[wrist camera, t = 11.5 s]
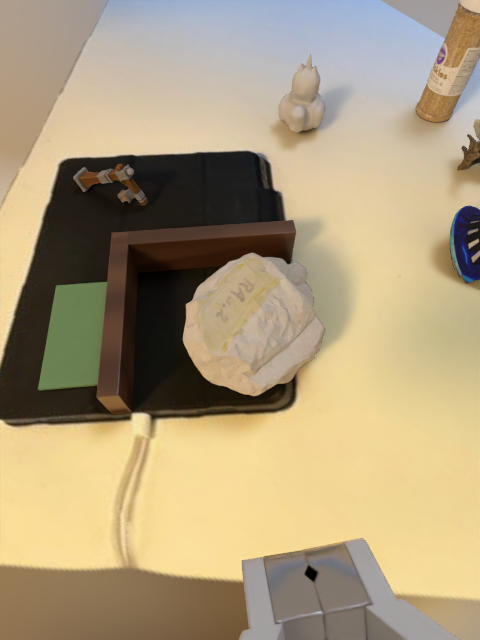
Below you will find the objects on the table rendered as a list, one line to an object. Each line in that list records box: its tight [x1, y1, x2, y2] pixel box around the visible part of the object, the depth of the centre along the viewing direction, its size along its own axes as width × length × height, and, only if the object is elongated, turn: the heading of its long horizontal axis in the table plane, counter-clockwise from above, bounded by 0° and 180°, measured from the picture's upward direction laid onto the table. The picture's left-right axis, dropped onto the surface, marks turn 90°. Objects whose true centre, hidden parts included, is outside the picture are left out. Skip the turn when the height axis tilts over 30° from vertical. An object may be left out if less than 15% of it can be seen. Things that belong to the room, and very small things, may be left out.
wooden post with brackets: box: [73, 164, 148, 205], centre depth 40 cm, size 2×8×4 cm, turn 65°
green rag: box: [38, 282, 107, 391], centre depth 33 cm, size 10×6×1 cm, turn 5°
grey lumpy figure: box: [279, 55, 325, 132], centre depth 45 cm, size 5×7×8 cm
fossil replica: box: [183, 253, 325, 396], centre depth 29 cm, size 12×8×10 cm
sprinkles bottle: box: [416, 0, 480, 122], centre depth 44 cm, size 5×5×14 cm
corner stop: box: [97, 220, 296, 415], centre depth 32 cm, size 15×16×4 cm
